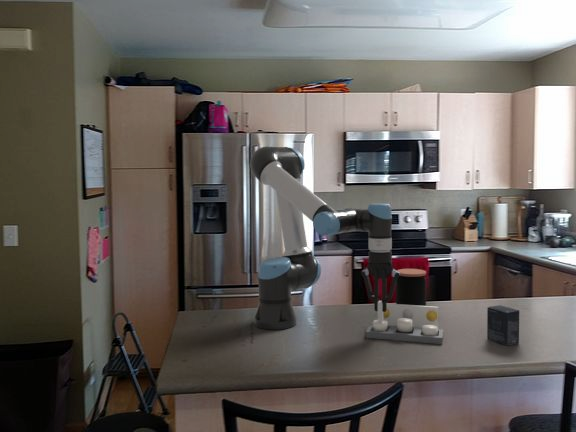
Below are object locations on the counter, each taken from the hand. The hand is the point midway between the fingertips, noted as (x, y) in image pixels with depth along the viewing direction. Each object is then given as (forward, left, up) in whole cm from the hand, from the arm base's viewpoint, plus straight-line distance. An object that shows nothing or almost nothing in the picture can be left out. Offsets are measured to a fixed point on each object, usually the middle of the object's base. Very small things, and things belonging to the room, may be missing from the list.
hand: (380, 320), depth 172 cm
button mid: (+8, 0, -2) cm, 8 cm away
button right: (+16, 0, -4) cm, 16 cm away
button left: (0, 0, -4) cm, 4 cm away
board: (+8, 0, -5) cm, 9 cm away
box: (+38, +4, -5) cm, 38 cm away
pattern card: (+8, +10, -5) cm, 14 cm away
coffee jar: (+8, +20, -5) cm, 22 cm away
